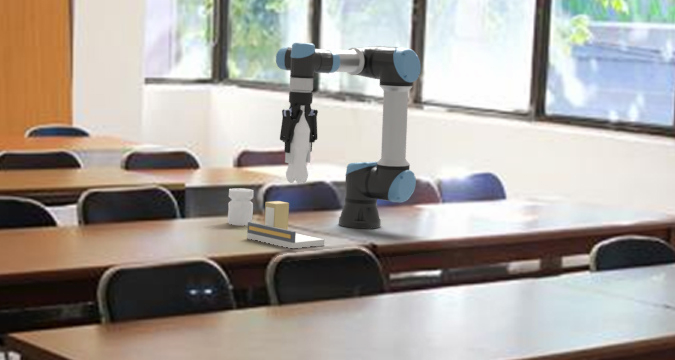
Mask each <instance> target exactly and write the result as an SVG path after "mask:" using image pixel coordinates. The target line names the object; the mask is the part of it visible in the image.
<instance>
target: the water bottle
mask: <svg viewBox="0 0 675 360" xmlns="http://www.w3.org/2000/svg"><path fill="white" fill-rule="evenodd" d="M300 109H301V110H302V111H303V113H302V115H301V117H300V121H299V123H297V124H296V126H295V129H294V136H293V139H292V142H291V143H293V163H292V164H291V163H287V165H288V166H287V169H286V171H285V177H286V180H287V182H288V183H290V184H293V183H294V182H296V183H297V184H305V183H306V182H307V180H308V177H309V171H308V169H307V162H306V157H307V153H308V150H309V136H310V128H309V125H308V123H307V121H306V119H305V114H304V113H305V112H304V111H305V110H304V109H305V105H304V106H301V108H300ZM293 120H295V119H293ZM288 139H289V138H288Z"/></svg>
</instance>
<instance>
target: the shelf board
mask: <svg viewBox="0 0 675 360" xmlns="http://www.w3.org/2000/svg"><path fill="white" fill-rule="evenodd" d="M246 230H247V235H246V239H248V240H251V239H252V240H251V241H255V240H258V241H257V242H259V241H261V243H264V242H266V243H265V244H268V243H270V245H273V244H274V246H277V245H278V246H277V247H281V246H283V248H286V247H288V248H287V249H290V248H298V249H303V248H302V247H307V248H311V247H310V246H316V247H322V246H325V239H324V238H320V237H315V236H309V235H305V234H301V233H297V232H296V231H293V230H289V229H288V230H285V229H281V228H276V227H271V226H267V225H264V224H262V223H256V222H253V221H252V222H248V225H247V229H246Z"/></svg>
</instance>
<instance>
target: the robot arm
mask: <svg viewBox="0 0 675 360" xmlns="http://www.w3.org/2000/svg"><path fill="white" fill-rule="evenodd" d="M275 62H276V63H275V64H276V66H277V67H278V68H279V69H280V70H282V71H283V70H284V71H290V75H289V90H291V91H289V93H288V102H289V104H290V105H289V106H288V109H282V110H281V115H282V120H281V126H280V132H279V133H280V134H279V140H280V141H282V142H283V143H284V149H283V150H284V153H285V154H284V155H285V158H284V163H287V164H289V163H291V164H292V163H293V143H291V142H292V139H293V136H294V129H295V126H296V124H297V123H299V121H300V117H301V115H302V113H303V111H302V110H301V109H300V108H301V106H304V105H305V109H304V110H305V111H304V112H305V113H304V114H305V119H306V121H307V123H308V125H309V128H310V136H309V150H308V153H307V157H306V164H307V163H310V164H311V155H312V154H311V152H312V150H313V143H315V142H316V141H317V140H318V120H317V119H318V118H317V117H318V113H319V111H318V110H317V109H313V108H312V107H311V105H312V104H313V95H314V93H312V91H313V90H314V76H315V74H330V73H331V74H333V73H347V74H349V75H350V76H361V77H365V78H369V79H374V80H376V79H377V80H379V87H380V88H381V89H382V90H383V98H382V100H383V102H382V125H381V126H382V129H381V130H382V131H381V152H380V155H381V156H380V159H379V160H378V161H361V162H349V163H348V165H347V166H346V170H345V171H346V172H345V186H344V187H345V188H344V189H345V190H344V204H343V207H342V210H341V213H340V216H339V217H338V225H339V226H341V227H346V228H351V229H376V228H377V229H378V228H381V226H382V225H381V222H382V221H381V218H380V215H379V210H378V200H381V201H387V202H391V203H405V202H406V201H408V200H409V199H410V198H411V196H412V195H413V193H414V192H415V189H416V184H417V178H416V175H415V173H414V172H413V171H412V170H411V169H410V162H409V161H408V160H407V158H406V157H407V155H406V153H407V135H408V134H407V132H408V130H407V129H408V107H409V106H408V104H409V91H410V90H411V89H412V88H413V86H414V82H416V81H417V80H418V79H419V76H420V74H421V62H420V58H419V56H418V54H417V53H416V51H414V50H413V49H411V48H407V47H402V46H385V45H384V46H381V45H374V46H373V45H372V46H364V47H363V46H362V47H350V48H348V49H330V48H329V49H325V48H316V46H315V44H314V43H308V42H293V43H292V45H291V47H290V46H288V47H282V48H280V49H278V51H277V53H276V55H275ZM314 73H315V74H314ZM293 119H295V120H293ZM288 138H289V139H288Z"/></svg>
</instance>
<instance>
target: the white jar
mask: <svg viewBox="0 0 675 360" xmlns="http://www.w3.org/2000/svg"><path fill="white" fill-rule="evenodd" d="M254 191H255V190H254V189H250V188H241V187H240V188H236V187H235V188H229V189H228V198H230V201H229V202H228V206H227V207H228V212H227V224H228V223H229V224H228V225H231V224H232V226H240V227H241V226H244V225H245V226H248V222H253V215H254V214H253V212H254V203H253V202H252V201H251V200H252V199H254V194H255V193H254ZM245 226H244V227H245Z"/></svg>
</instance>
